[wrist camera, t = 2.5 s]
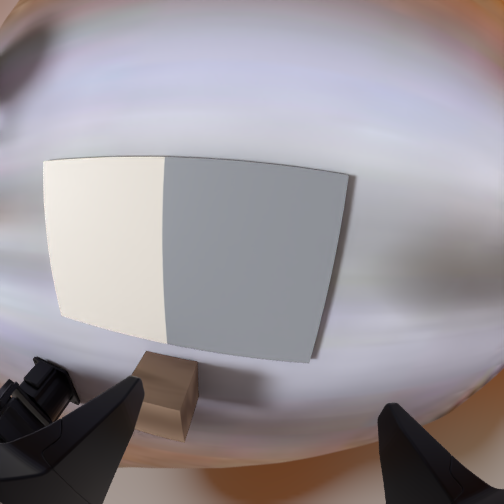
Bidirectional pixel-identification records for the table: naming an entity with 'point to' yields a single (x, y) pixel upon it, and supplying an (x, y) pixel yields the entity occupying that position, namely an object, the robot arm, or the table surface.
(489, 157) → the table surface
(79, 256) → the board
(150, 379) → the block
